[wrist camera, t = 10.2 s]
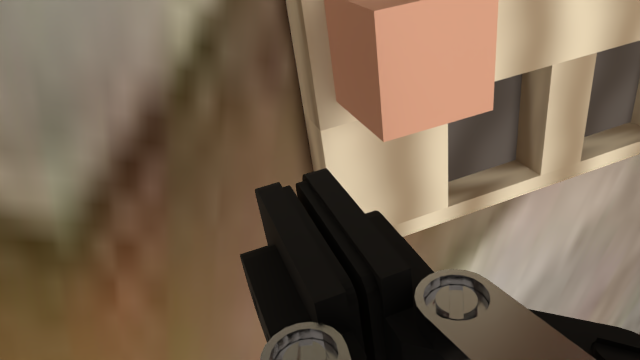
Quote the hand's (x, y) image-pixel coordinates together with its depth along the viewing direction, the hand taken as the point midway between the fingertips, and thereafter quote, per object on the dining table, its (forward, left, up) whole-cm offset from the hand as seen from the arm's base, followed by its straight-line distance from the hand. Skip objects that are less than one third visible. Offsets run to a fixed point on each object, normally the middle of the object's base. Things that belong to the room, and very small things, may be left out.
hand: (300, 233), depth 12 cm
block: (+8, 0, -12) cm, 14 cm away
